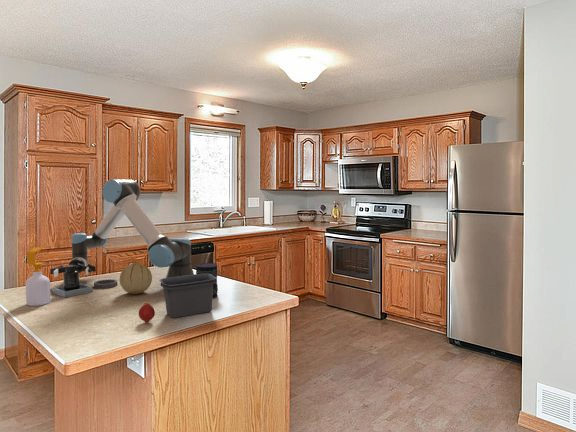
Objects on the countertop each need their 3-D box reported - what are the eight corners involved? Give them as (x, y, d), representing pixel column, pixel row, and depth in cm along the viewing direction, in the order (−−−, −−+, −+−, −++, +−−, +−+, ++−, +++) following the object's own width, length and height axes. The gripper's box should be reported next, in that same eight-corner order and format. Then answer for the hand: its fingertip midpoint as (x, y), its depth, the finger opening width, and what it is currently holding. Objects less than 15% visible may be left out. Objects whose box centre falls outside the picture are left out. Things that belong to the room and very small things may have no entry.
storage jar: (222, 295, 200) (221, 263, 198) (209, 300, 191) (209, 267, 189) (204, 292, 204) (204, 262, 203) (191, 297, 195) (191, 265, 194)
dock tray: (92, 291, 205) (92, 286, 205) (64, 297, 195) (64, 292, 195) (79, 287, 213) (79, 282, 213) (52, 293, 203) (51, 287, 203)
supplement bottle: (82, 288, 207) (81, 264, 206) (74, 292, 200) (73, 267, 199) (69, 288, 208) (68, 264, 207) (60, 292, 201) (59, 267, 200)
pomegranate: (141, 320, 163) (140, 299, 162) (156, 319, 163) (156, 299, 163) (137, 325, 157) (136, 304, 156) (152, 324, 158) (152, 303, 157)
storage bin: (166, 321, 161) (166, 285, 160) (157, 311, 175) (156, 277, 173) (219, 313, 172) (219, 278, 171) (206, 303, 185) (206, 271, 184)
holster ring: (121, 285, 218) (121, 281, 218) (101, 289, 210) (101, 285, 210) (110, 282, 225) (109, 278, 225) (89, 286, 216) (89, 282, 216)
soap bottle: (55, 301, 188) (52, 247, 186) (37, 307, 180) (34, 250, 178) (40, 299, 191) (37, 246, 189) (21, 305, 183) (18, 249, 181)
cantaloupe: (126, 299, 192) (125, 266, 191) (115, 292, 203) (114, 262, 202) (157, 293, 202) (156, 262, 200) (145, 288, 213) (145, 258, 212)
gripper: (103, 270, 226) (99, 279, 206) (50, 273, 218) (41, 283, 198) (103, 256, 225) (98, 264, 205) (50, 259, 217) (40, 267, 197)
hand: (70, 273), depth 201 cm, fingers open, 13 cm apart
